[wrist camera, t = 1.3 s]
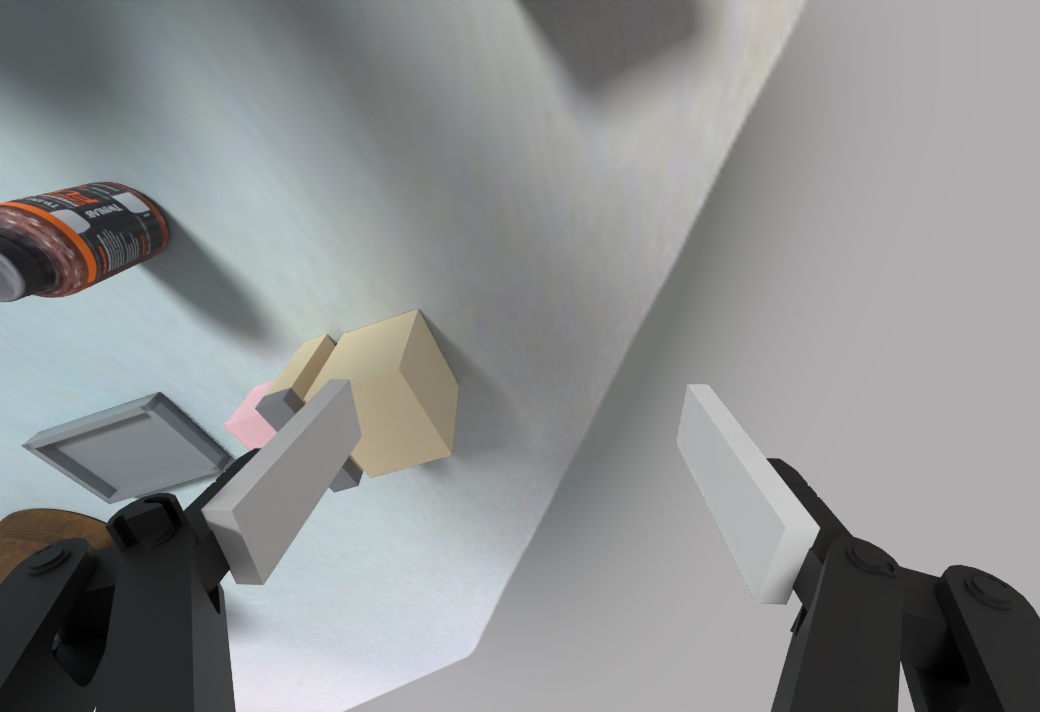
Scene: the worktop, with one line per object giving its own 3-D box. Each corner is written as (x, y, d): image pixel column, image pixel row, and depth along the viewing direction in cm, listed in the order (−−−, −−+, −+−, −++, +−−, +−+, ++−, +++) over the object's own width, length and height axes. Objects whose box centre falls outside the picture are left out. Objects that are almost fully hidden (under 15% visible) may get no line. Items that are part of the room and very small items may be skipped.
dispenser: (304, 341, 39) (254, 408, 31) (415, 304, 38) (395, 363, 29) (362, 418, 45) (334, 492, 37) (460, 389, 44) (454, 458, 35)
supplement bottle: (138, 172, 30) (-21, 207, 21) (188, 247, 33) (71, 307, 24) (66, 188, 30) (-124, 230, 21) (123, 261, 34) (-20, 326, 24)
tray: (39, 432, 43) (21, 445, 41) (159, 391, 41) (145, 404, 40) (122, 490, 49) (109, 504, 47) (231, 457, 47) (221, 470, 45)
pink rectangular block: (255, 386, 42) (223, 425, 37) (339, 358, 41) (318, 395, 36) (285, 418, 44) (259, 459, 40) (365, 393, 43) (349, 432, 38)
